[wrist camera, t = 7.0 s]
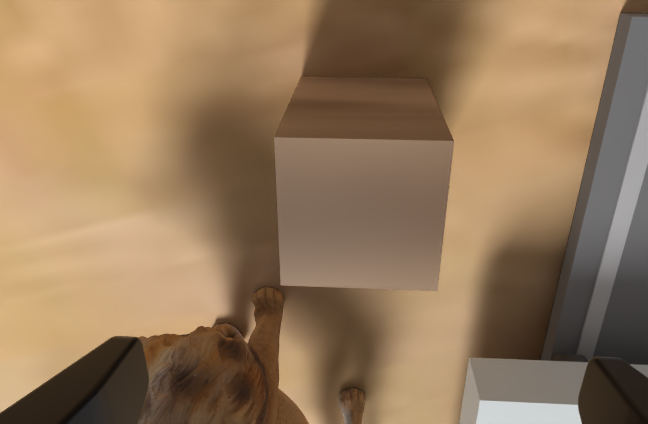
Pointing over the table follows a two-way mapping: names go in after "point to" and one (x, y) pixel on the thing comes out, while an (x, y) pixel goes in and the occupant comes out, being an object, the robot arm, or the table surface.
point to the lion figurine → (227, 375)
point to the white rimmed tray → (525, 390)
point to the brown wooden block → (362, 184)
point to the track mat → (610, 219)
